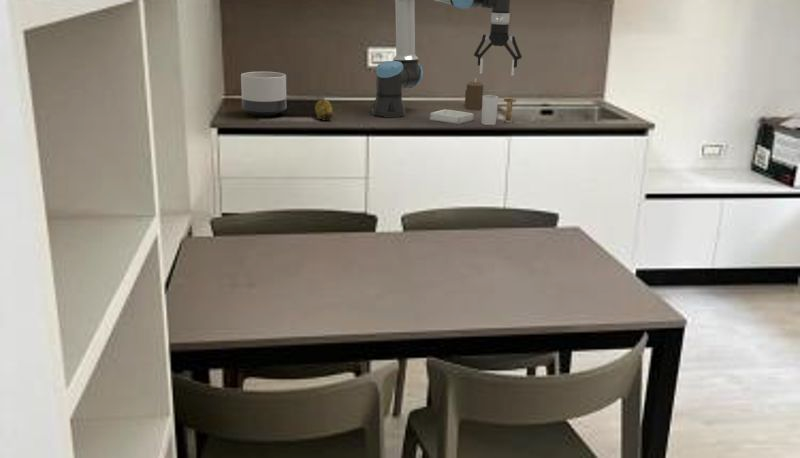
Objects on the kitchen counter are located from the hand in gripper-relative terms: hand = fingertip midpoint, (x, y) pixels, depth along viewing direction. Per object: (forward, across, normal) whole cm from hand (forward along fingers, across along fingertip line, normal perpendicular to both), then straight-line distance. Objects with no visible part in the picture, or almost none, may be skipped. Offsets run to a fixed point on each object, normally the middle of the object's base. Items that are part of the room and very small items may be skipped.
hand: (496, 74), depth 338 cm
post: (+22, +6, +8) cm, 24 cm away
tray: (+21, -19, +2) cm, 29 cm away
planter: (+21, -99, -21) cm, 103 cm away
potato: (+21, -72, -19) cm, 77 cm away
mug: (+22, -2, +1) cm, 22 cm away
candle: (+22, -14, +37) cm, 45 cm away
